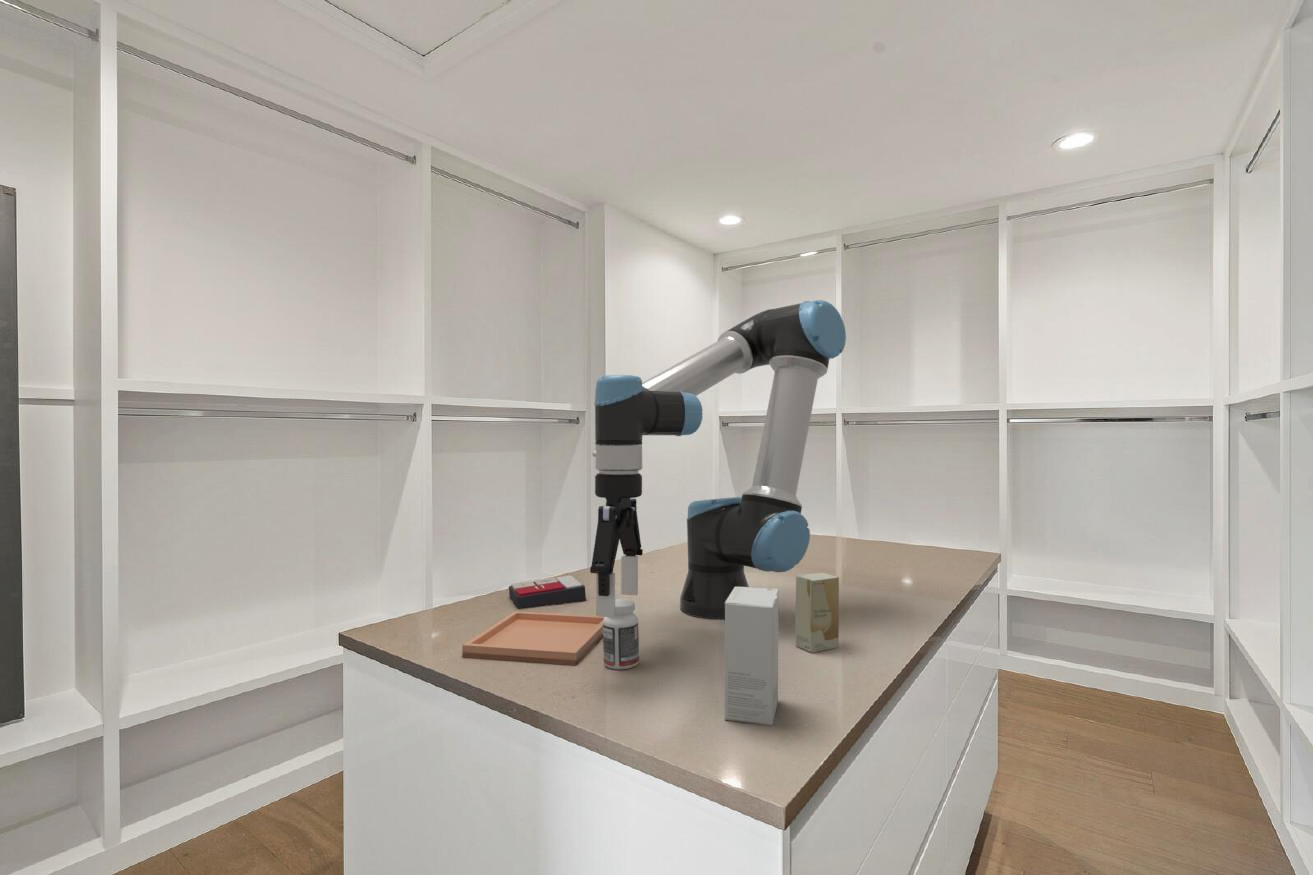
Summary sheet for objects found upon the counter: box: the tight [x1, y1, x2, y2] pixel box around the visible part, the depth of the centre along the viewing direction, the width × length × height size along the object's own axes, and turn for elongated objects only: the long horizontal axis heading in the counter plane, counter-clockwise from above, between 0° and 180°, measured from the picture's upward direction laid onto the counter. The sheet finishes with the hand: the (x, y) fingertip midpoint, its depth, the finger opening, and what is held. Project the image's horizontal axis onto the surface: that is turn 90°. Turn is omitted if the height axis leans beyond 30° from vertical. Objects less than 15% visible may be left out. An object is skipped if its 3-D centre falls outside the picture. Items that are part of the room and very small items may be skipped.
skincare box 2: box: [795, 572, 840, 653], centre depth 109 cm, size 6×4×12 cm
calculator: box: [508, 575, 587, 610], centre depth 142 cm, size 11×4×15 cm
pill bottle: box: [602, 598, 640, 670], centre depth 102 cm, size 6×6×10 cm
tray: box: [461, 610, 604, 666], centre depth 114 cm, size 20×20×2 cm
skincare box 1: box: [724, 586, 780, 726], centre depth 85 cm, size 8×7×16 cm
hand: (618, 604), depth 102 cm, fingers open, 13 cm apart
